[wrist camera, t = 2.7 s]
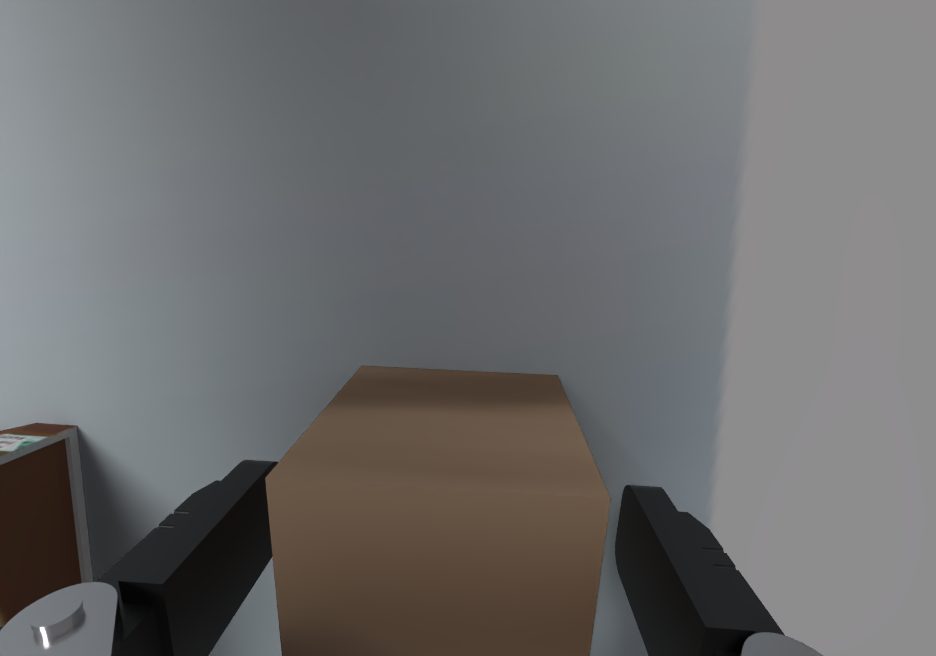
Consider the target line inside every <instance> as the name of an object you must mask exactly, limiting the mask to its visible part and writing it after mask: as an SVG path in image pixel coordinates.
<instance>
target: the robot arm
mask: <svg viewBox="0 0 936 656" xmlns="http://www.w3.org/2000/svg"><path fill="white" fill-rule="evenodd" d="M277 464H278V462H271V461H255V460H244V461H242V462H241V463H239V464H238V465H237V466H236V467H235V468H234V469H233V470H232V471H231V472H230V473H229V474H228V475H227V476H226V477H225V478H224V479H223V480H222V481H215V482H213V483H211V484H209V485H208V486H206V487H204V488H202V489H200V490H199V491H197V492H195V493H193V494H192V495H191V496H190V497H189V498H187V499H186V500H185V501H184V502H183V503H182V504H181V505H180V506H179V507H178V508H177V509H175V510H174V514H170V515H169V516H168V517H167V518H166V519H165V520H163V521H162V522H161V523H160V524H159V527H158V528H155V529H154V530H153V531H151V532H150V533H149V534H148V535H147V536H146V537H145V538H144V539H143V540H142V541H141V542H139V543H138V544H137V545H136V546H135V547H134V548H133V549H132V550H131V551H130V552H129V553H127V554H126V555H125V556H124V557H123V558H122V559H121V560H120V561H119V562H118V563H117V564H115V565H114V566H113V567H112V568H111V569H110V570H109V571H108V572H107V573H106V574H105V575H103V576H102V577H101V578H100V579H99V580H98V581H97V582H87V583H81V584H76V585H73V586H69V587H66V588H63V589H61V590H58V591H55V592H53V593H51V594H49V595H47V596H45V597H43V598H41V599H39V600H37V601H36V602H34V603H32V604H31V605H29V606H28V607H26V608H25V609H23V610H22V611H21V612H19V613H18V614H17V615H15V616H14V617H13V618H12V619H11V620H10V621H9V622H8V623H7V624H6V625H5V626H3V627H0V656H208V655H209V653H210V652H211V650H212V649H213V647H214V646H215V644H216V643H217V641H218V640H219V638H220V637H221V635H222V633H223V632H224V630H225V629H226V627H227V626H228V624H229V623H230V621H231V620H232V618H233V616H234V615H235V613H236V612H237V610H238V609H239V607H240V606H241V604H242V603H243V601H244V599H245V598H246V596H247V595H248V593H249V592H250V590H251V589H252V587H253V586H254V584H255V583H256V581H257V579H258V578H259V576H260V575H261V573H262V572H263V570H264V569H265V567H266V566H267V564H268V562H269V561H270V559H271V558H272V556H273V555H272V545H271V534H270V523H269V513H268V502H267V492H266V481H265V478H266V477H267V475H268V474H269V473H270V472H271V471H272V470H273V468H274V467H275V466H276V465H277ZM615 556H616V564H617V569H618V573H619V576H620V579H621V581H622V584H623V587H624V590H625V592H626V595H627V598H628V600H629V603H630V606H631V609H632V611H633V614H634V617H635V620H636V622H637V625H638V628H639V630H640V633H641V636H642V639H643V641H644V644H645V647H646V650H647V652H648V655H649V656H823V655H821V654H820V653H818V652H817V651H816V650H814V649H813V648H811V647H809V646H807V645H805V644H804V643H802V642H799V641H797V640H795V639H793V638H790V637H787V636H785V635H784V633H783V632H782V631H781V629H780V628H779V626H778V625H777V624H776V622H775V621H774V619H773V618H772V616H771V615H770V614H769V612H768V611H767V609H766V608H765V607H764V605H763V604H762V602H761V601H760V600H759V598H758V597H757V596H756V594H755V593H754V591H753V590H752V588H751V587H750V586H749V584H748V583H747V582H746V580H745V579H744V577H743V576H742V575H741V573H740V572H739V571H738V570H736V568H735V565H734V563H733V562H732V561H731V559H730V558H729V556H728V555H727V553H724V551H723V548H722V546H721V545H720V544H719V542H718V541H717V539H716V538H715V537H714V535H713V534H712V532H711V531H710V530H709V529H708V528H707V527H706V526H704V525H703V524H702V523H701V522H699V521H698V520H697V519H696V518H694V517H693V516H692V515H691V514H689V513H688V512H678V511H677V509H676V508H675V506H674V505H673V503H672V502H671V500H670V498H669V497H668V495H667V494H666V492H665V491H664V490H663V489H662V488H661V487H651V486H635V485H626V486H625V488H624V490H623V494H622V501H621V508H620V515H619V522H618V528H617V535H616V543H615Z"/></svg>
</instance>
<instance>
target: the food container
mask: <svg viewBox="0 0 936 656" xmlns="http://www.w3.org/2000/svg"><path fill="white" fill-rule="evenodd" d="M87 582H93V573H92V564H91V554H90V545H89V536H88V526H87V517H86V508H85V498H84V489H83V480H82V470H81V461H80V451H79V442H78V433H77V426H74V425H59V424H44V423H34V424H30V425H25V426H20V427H16V428H11V429H7V430H2V431H0V627H3V626H5V625H6V624H7V623H8V622H9V621H10V620H11V619H12V618H13V617H14V616H15V615H17V614H18V613H19V612H21V611H22V610H23V609H25V608H26V607H28V606H29V605H31V604H32V603H34V602H36V601H37V600H39V599H41V598H43V597H45V596H47V595H49V594H51V593H53V592H55V591H58V590H61V589H63V588H66V587H69V586H73V585H76V584H81V583H87Z"/></svg>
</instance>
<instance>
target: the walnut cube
mask: <svg viewBox="0 0 936 656" xmlns="http://www.w3.org/2000/svg"><path fill="white" fill-rule="evenodd" d="M265 481H266V492H267V502H268V513H269V523H270V534H271V545H272V555H273V566H274V576H275V587H276V597H277V608H278V619H279V629H280V640H281V650H282V656H590V649H591V641H592V634H593V627H594V619H595V612H596V605H597V597H598V590H599V583H600V575H601V568H602V560H603V553H604V546H605V538H606V531H607V524H608V516H609V509H610V502H611V498H610V495H609V493H608V491H607V489H606V486H605V484H604V482H603V479H602V477H601V475H600V472H599V470H598V468H597V465H596V463H595V461H594V459H593V456H592V454H591V452H590V449H589V447H588V445H587V442H586V440H585V438H584V435H583V433H582V431H581V429H580V426H579V424H578V422H577V419H576V417H575V415H574V412H573V410H572V408H571V405H570V403H569V401H568V399H567V396H566V394H565V392H564V389H563V387H562V385H561V382H560V380H559V378H558V375H540V374H520V373H499V372H479V371H459V370H438V369H418V368H397V367H377V366H361V367H360V368H359V369H358V370H357V372H356V373H355V374H354V375H353V376H352V377H351V379H350V380H349V381H348V382H347V383H346V384H345V386H344V387H343V388H342V389H341V390H340V391H339V393H338V394H337V395H336V396H335V397H334V398H333V400H332V401H331V402H330V403H329V404H328V405H327V407H326V408H325V409H324V410H323V411H322V412H321V414H320V415H319V416H318V417H317V418H316V419H315V421H314V422H313V423H312V424H311V425H310V426H309V428H308V429H307V430H306V431H305V432H304V433H303V435H302V436H301V437H300V438H299V439H298V440H297V442H296V443H295V444H294V445H293V446H292V447H291V449H290V450H289V451H288V452H287V453H286V454H285V456H284V457H283V458H282V459H281V460H280V461H279V463H278V464H277V465H276V466H275V467H274V468H273V470H272V471H271V472H270V473H269V474H268V475H267V477H266V478H265Z"/></svg>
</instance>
